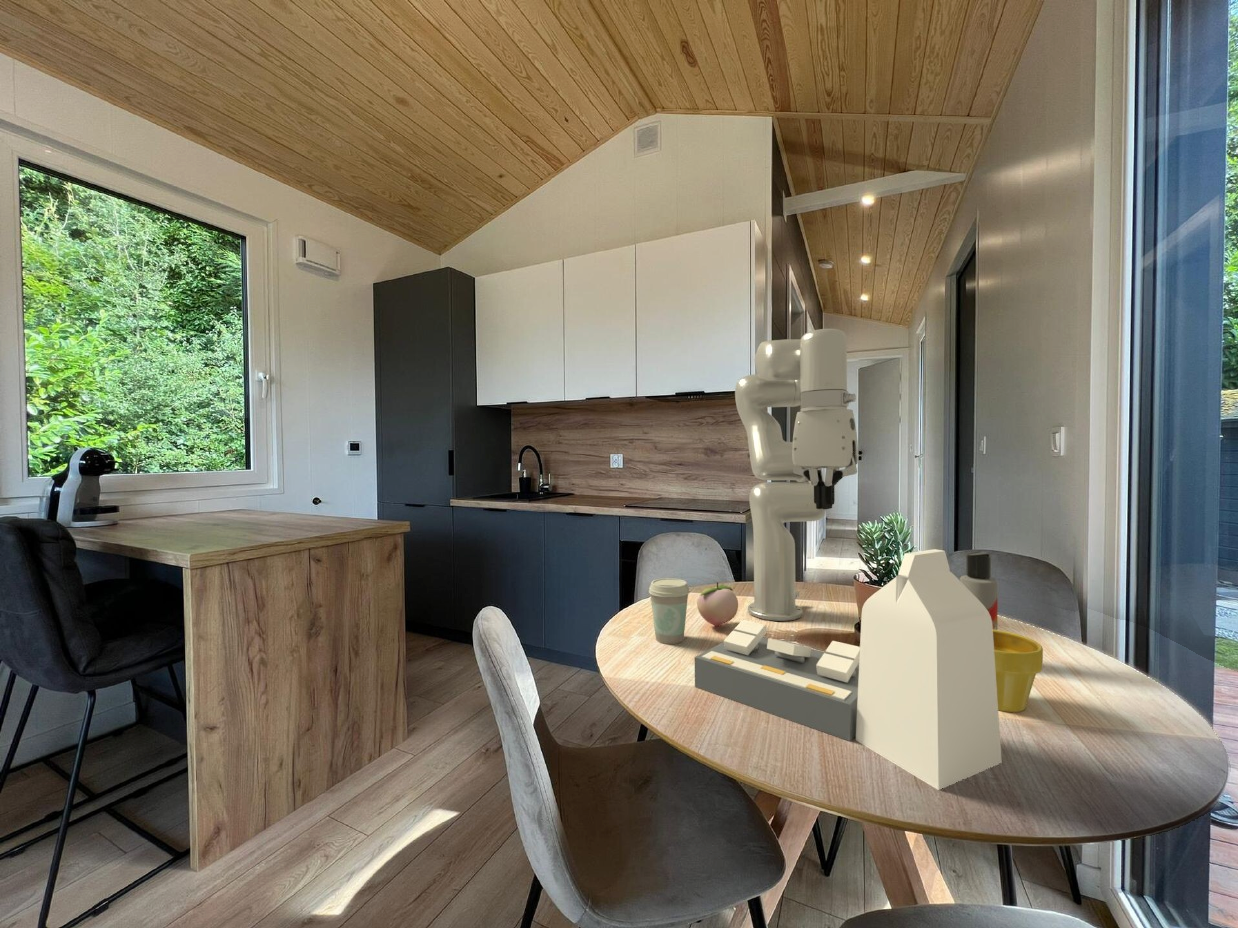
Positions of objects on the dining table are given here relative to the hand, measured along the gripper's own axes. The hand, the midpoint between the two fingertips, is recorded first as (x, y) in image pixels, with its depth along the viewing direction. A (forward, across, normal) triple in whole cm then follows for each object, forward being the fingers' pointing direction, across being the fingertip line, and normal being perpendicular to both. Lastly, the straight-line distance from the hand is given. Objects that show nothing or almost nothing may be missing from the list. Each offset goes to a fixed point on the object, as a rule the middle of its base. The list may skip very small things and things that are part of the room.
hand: (824, 508), depth 90 cm
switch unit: (+29, +2, +11) cm, 31 cm away
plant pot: (+29, -24, -7) cm, 39 cm away
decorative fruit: (+29, +27, -9) cm, 41 cm away
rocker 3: (+22, -6, +10) cm, 25 cm away
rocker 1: (+22, +10, +10) cm, 26 cm away
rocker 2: (+22, +2, +10) cm, 24 cm away
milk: (+29, -19, +15) cm, 38 cm away
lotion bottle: (+29, -19, -24) cm, 42 cm away
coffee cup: (+29, +31, +4) cm, 43 cm away
